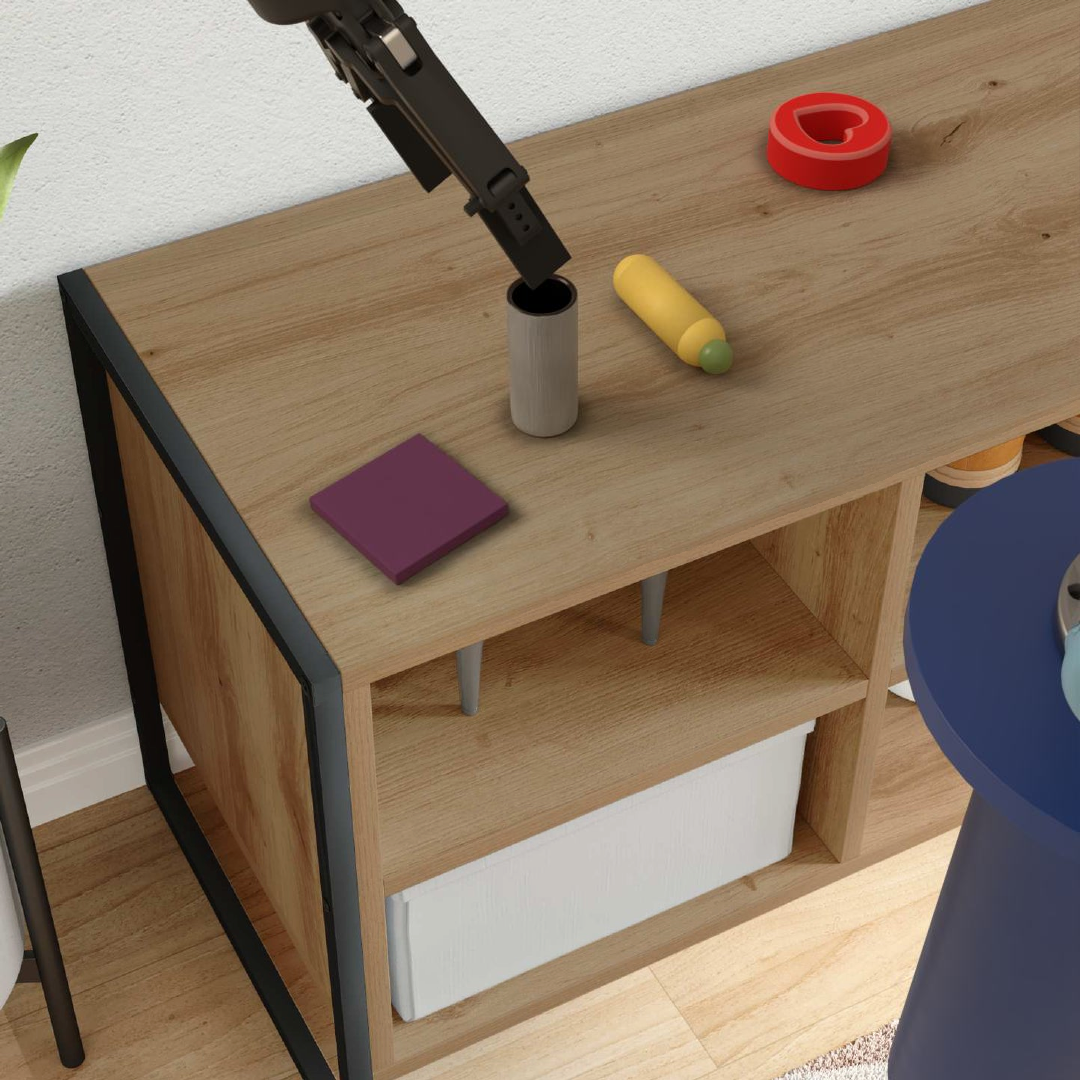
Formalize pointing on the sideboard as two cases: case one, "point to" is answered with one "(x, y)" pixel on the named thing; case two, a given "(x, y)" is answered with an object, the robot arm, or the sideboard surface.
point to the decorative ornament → (829, 120)
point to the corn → (672, 313)
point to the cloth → (408, 507)
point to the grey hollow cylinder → (543, 355)
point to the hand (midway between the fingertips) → (493, 221)
